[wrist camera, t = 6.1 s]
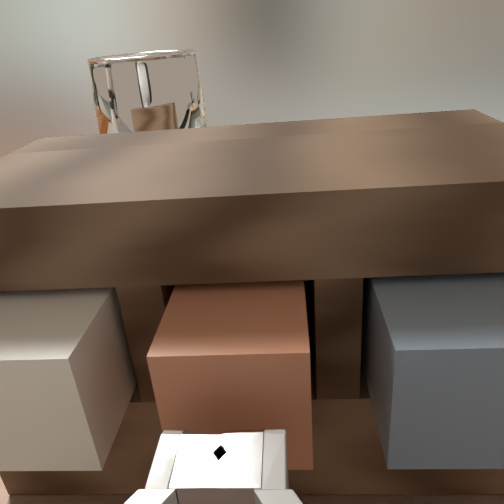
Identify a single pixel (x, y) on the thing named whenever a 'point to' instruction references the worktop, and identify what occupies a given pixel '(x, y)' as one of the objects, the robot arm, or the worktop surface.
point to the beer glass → (147, 91)
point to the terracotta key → (236, 362)
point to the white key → (62, 378)
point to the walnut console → (259, 255)
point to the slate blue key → (436, 368)
